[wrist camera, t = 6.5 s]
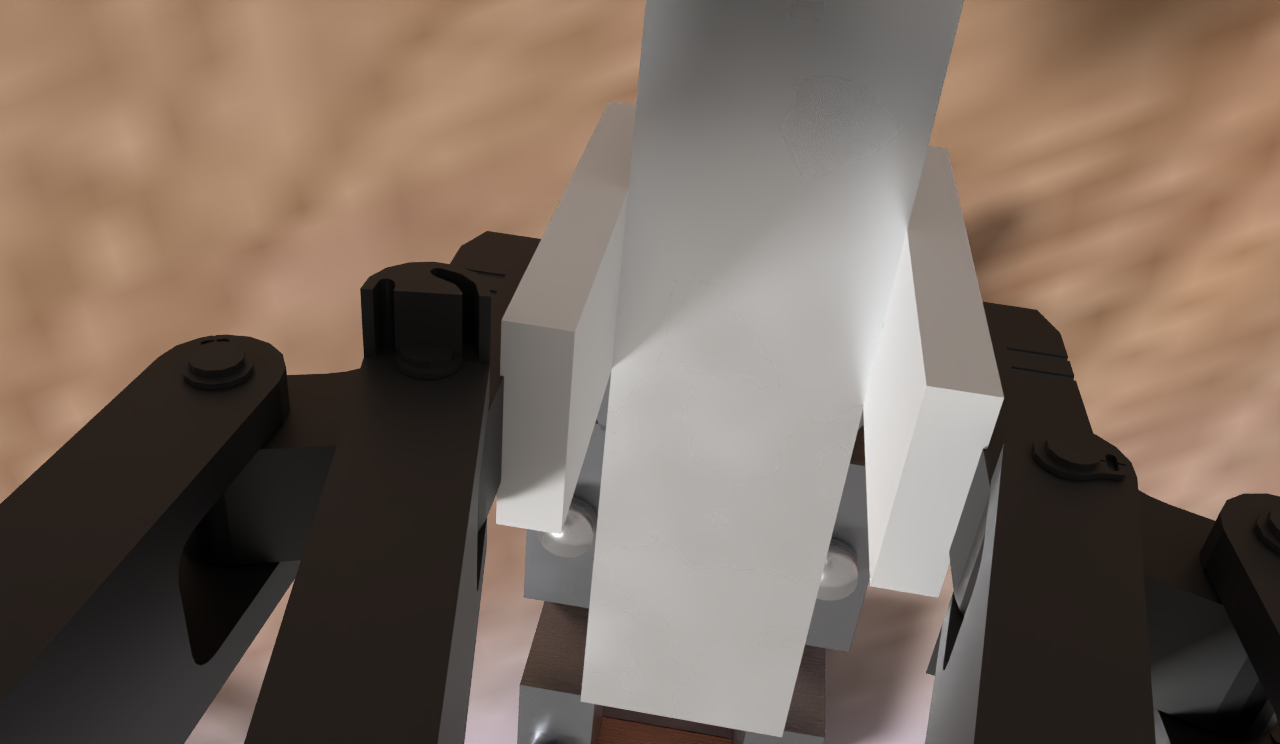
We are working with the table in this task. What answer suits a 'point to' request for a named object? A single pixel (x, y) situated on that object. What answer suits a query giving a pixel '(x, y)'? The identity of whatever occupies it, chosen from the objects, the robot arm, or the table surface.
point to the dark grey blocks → (562, 576)
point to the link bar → (748, 334)
